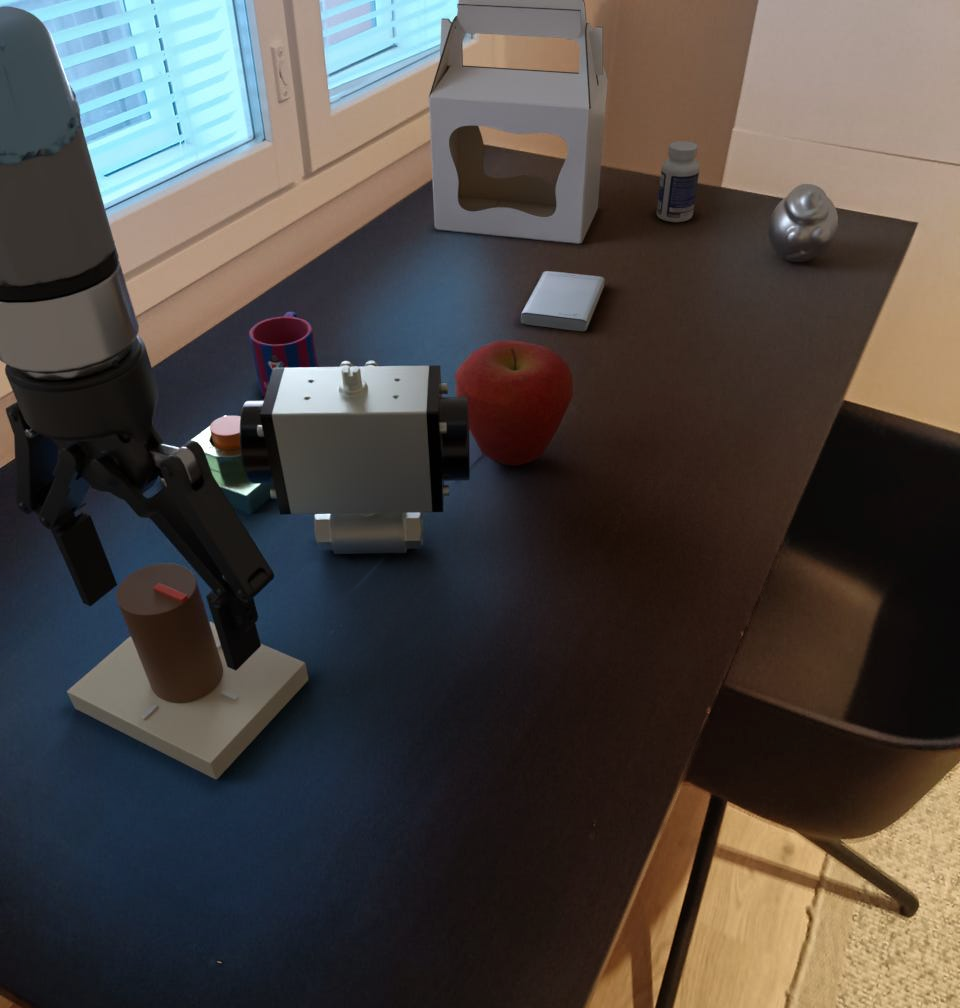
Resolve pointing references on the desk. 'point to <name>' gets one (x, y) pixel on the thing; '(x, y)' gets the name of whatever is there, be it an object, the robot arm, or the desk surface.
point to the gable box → (517, 124)
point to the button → (226, 432)
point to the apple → (514, 398)
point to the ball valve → (358, 450)
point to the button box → (233, 475)
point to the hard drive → (563, 301)
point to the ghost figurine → (803, 224)
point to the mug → (281, 346)
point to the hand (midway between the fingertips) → (170, 624)
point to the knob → (171, 631)
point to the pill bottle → (678, 183)
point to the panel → (191, 705)
